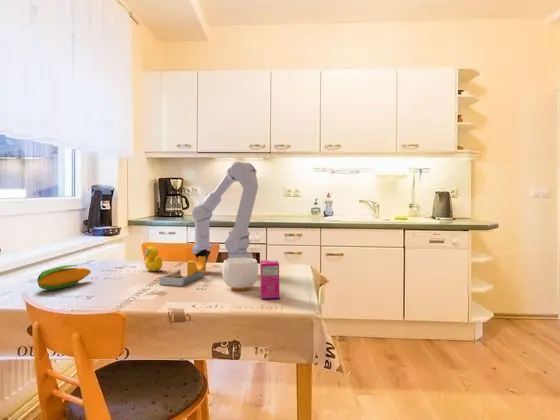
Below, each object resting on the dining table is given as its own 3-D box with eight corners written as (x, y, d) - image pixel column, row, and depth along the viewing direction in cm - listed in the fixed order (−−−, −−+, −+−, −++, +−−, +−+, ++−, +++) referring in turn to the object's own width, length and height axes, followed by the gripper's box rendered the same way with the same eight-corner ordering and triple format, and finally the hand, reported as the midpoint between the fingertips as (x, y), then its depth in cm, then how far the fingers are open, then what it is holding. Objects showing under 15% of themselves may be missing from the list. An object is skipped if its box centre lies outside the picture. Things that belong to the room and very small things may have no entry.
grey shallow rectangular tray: (203, 277, 159) (203, 271, 158) (184, 286, 144) (184, 279, 144) (178, 275, 162) (178, 269, 161) (156, 284, 147) (156, 277, 147)
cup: (255, 283, 149) (255, 256, 149) (261, 292, 137) (261, 263, 137) (221, 285, 147) (220, 257, 146) (223, 294, 135) (223, 264, 134)
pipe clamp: (195, 271, 168) (195, 255, 168) (205, 272, 167) (205, 256, 167) (183, 278, 157) (183, 261, 156) (193, 278, 156) (193, 262, 155)
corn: (30, 268, 136) (82, 258, 154) (30, 291, 137) (82, 278, 155) (45, 272, 133) (96, 261, 151) (45, 295, 134) (96, 282, 152)
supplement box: (260, 295, 133) (260, 260, 133) (278, 294, 134) (278, 259, 133) (260, 300, 128) (260, 263, 127) (279, 299, 128) (280, 263, 127)
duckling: (139, 269, 172) (139, 245, 172) (151, 267, 176) (151, 244, 176) (154, 273, 165) (153, 248, 164) (166, 271, 169) (165, 247, 168)
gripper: (201, 233, 177) (201, 264, 178) (184, 237, 163) (184, 271, 164) (216, 233, 175) (216, 265, 176) (200, 238, 161) (201, 272, 162)
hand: (202, 268), depth 170 cm, fingers closed
